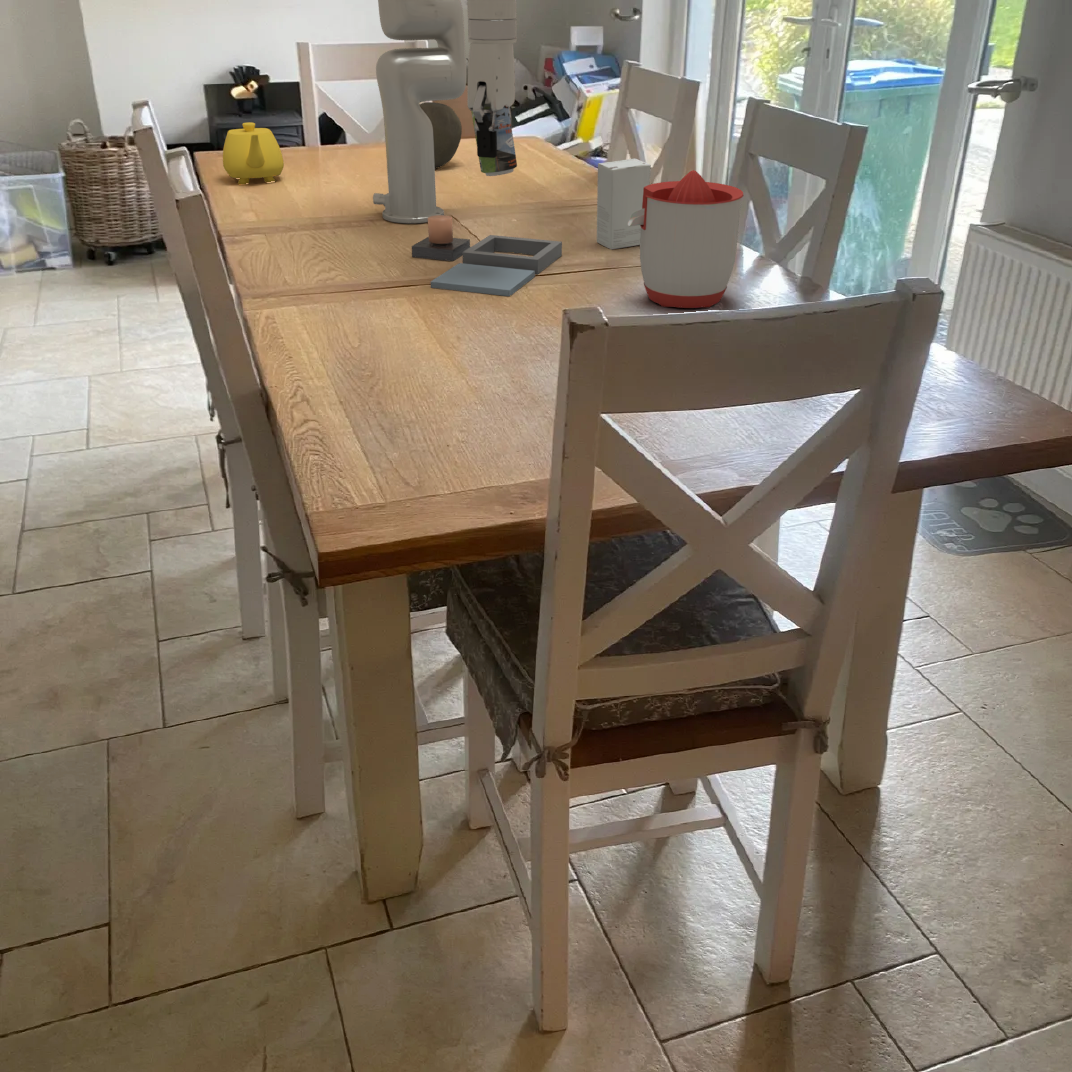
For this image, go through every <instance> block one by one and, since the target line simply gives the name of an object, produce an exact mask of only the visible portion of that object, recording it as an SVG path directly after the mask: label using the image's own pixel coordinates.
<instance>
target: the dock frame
mask: <svg viewBox="0 0 1072 1072" xmlns="http://www.w3.org/2000/svg"><path fill="white" fill-rule="evenodd" d="M562 248H563V241H561V240H560V241H559V240H549V239H537V238H527V237H518V236H517V237H515V236H506V235H494V234H489V235H487V236H485V237H484V238H483V239H481V240H480V241H478V242H475V244H473V245H472V246H470V248H468V249H467V250H465V251H464V252H462V256H461V257H462V263H464V264H473V265H483V266H493V267H503V268H512V269H522V270H532V271H535V275H539V274H540V273H541V272H542V271H544V270H546V268H548V267H549V266H550V265H552V263H554V262H555V261H557V260H558V259H559V258H560V257H561V256H562V255H563V250H562ZM498 252H499V253H498ZM508 252H514V253H513V254H509V253H508ZM507 253H508V254H507ZM518 253H522V254H521V255H520V254H519V255H518ZM527 255H528V256H527ZM529 255H531V256H529Z"/></svg>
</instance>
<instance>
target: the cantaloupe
mask: <svg viewBox="0 0 1072 1072" xmlns="http://www.w3.org/2000/svg"><path fill="white" fill-rule="evenodd" d="M419 106H420V107H421V109H422V110H423V111H424V112H425V114H426V115H427V116H428V118H429V119H430V121H431V124H432V127H433V141H434V165H435V169H438V168H437V167H439V168H440V167H443V166H444V165H447V164H448V163H449V162H450V161H451V160H452V158H453V157H454V156H455V155H456V152H457V150H458V148H459V147H460V146H459V145H460V143H461V139H462V133H463V131H462V129H463V127H462V122H461V119H460V117H459V116H458V115H457V113H456V112H455V110H454V109H453V108H452V107H450V106H449V105H447V104H446V103H442V102H441V103H440V102H435V101H434V102H433V101H425V102H421V103H419Z"/></svg>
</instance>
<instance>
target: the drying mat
mask: <svg viewBox="0 0 1072 1072" xmlns="http://www.w3.org/2000/svg"><path fill="white" fill-rule="evenodd" d="M535 277H536V274H535V271H532V270H522V269H512V268H503V267H493V266H483V265H473V264H464V263H463V262H459V263H457V264H455V265H454V266H452V267H451V268H449V269H447V270H446V271H445V272H443V273H442V274H440V275H439V276H437V277H435V278H434V279H432V280H431V281H430V288H432V289H441V290H449V291H458V292H459V291H460V292H468V293H476V294H483V295H484V294H485V295H496V296H503V297H511V296H512V295H514V294H515V293H516V292H518V291H519V290H520V289H521V288H522V287H523V285H524V286H525V285H526V284H527V283H528V282H530V281H532V279H534V278H535ZM518 289H519V290H518ZM510 295H511V296H510Z"/></svg>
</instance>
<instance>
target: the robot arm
mask: <svg viewBox="0 0 1072 1072" xmlns="http://www.w3.org/2000/svg"><path fill="white" fill-rule="evenodd" d="M466 2H467V4H466V5H467V32H468V33H467V34H468V39H467V40H468V43H469V51H468V61H467V57H466V39H465V22H464V21H465V19H464V18H465V17H464V9H463V5H462V1H461V0H377V3H378V15H379V16H378V17H379V21H380V22H379V23H380V27H381V30H382V33H383V34H384V36H385V37H387V38H389V39H390V40H393V41H394V40H395V41H424V40H425V41H426V40H427V41H429V40H435V41H436V44H437V46H436V47H409V48H406V47H403V48H402V47H401V48H394V49H391V50H387V51H385V52H383V53H382V54H381V55H380V56H379V58H377V59H378V60H377V62H376V65H375V75H376V82H377V86H378V90H379V91H378V92H379V95H380V96H379V97H380V101H381V107H382V114H383V126H384V138H385V139H384V140H385V141H384V142H385V152H386V153H385V155H386V156H385V157H386V173H387V185H388V186H387V189H388V192H386V193H385V194H384V193H380V192H379V193H376V192H375V193H373V196H372V202H373V204H374V205H378V206H381V205H383V206H384V209H383V210H382V212H381V213H382V214H381V215H382V218H383V220H385V221H387V222H391V223H398V224H425V223H428V217H431V216H437V215H445V210H444V209H443V208H441V207H440V206H437V195H436V193H437V192H436V191H437V189H436V188H437V187H436V171H435V170H436V168H435V165H434V141H433V127H432V124H431V121H430V119H429V118H428V116H427V115H426V114H425V112H424V111H423V110H422V109H421V107H420V106H419V104H421V103H425V102H433V101H434V102H435V101H436V102H437V101H449V100H455V99H458V98H460V97H461V96H463V94H464V93H465V91H466V86H467V108H468V110H470V111H473V114H474V116H475V121H476V131H477V144H476V155H477V157H478V158H479V157H488V158H495V157H496V156H497V131H494V127H495V118H496V112H498V111H500V110H501V109H503V107H504V106H505V105H506V104H508V106H509V113H510V120H511V123H512V120H513V119H512V112H513V110H512V109H513V107H512V105H513V104H514V103H515V100H516V71H515V70H516V69H515V66H516V65H515V55H514V54H515V52H514V44H515V43H517V41H518V40H517V37H518V36H517V34H518V33H517V32H518V30H517V27H518V25H517V0H466ZM467 64H468V65H467ZM484 107H490V108H491V109H492V110H487V109H484ZM487 115H490V120H489V119H488V117H487Z"/></svg>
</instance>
